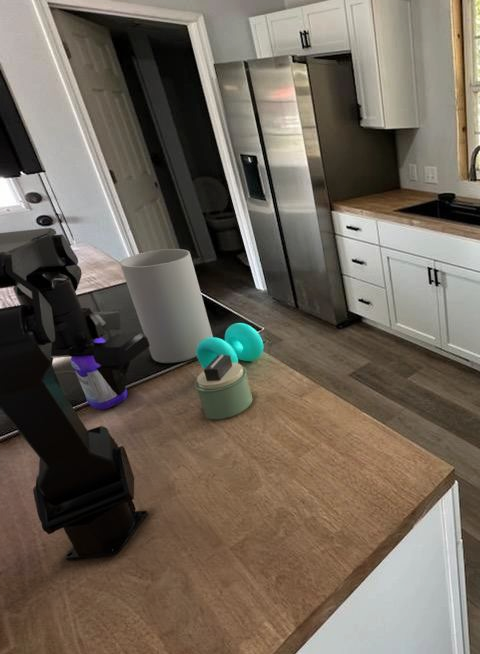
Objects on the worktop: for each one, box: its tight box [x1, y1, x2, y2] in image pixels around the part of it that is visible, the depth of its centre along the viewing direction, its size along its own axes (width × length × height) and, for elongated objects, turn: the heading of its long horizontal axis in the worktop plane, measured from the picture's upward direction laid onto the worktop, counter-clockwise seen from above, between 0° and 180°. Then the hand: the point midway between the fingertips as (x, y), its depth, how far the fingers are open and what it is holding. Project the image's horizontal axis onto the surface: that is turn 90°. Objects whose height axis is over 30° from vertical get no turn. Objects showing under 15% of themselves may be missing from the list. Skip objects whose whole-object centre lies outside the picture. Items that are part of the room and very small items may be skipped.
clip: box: [203, 355, 232, 381], centre depth 82 cm, size 5×2×3 cm, turn 8°
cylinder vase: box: [119, 248, 214, 364], centre depth 99 cm, size 12×12×25 cm
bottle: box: [70, 337, 128, 410], centre depth 82 cm, size 7×6×17 cm
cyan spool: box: [196, 322, 264, 370], centre depth 96 cm, size 10×10×10 cm
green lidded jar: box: [194, 362, 254, 420], centre depth 84 cm, size 9×9×8 cm
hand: (90, 395), depth 68 cm, fingers open, 9 cm apart
